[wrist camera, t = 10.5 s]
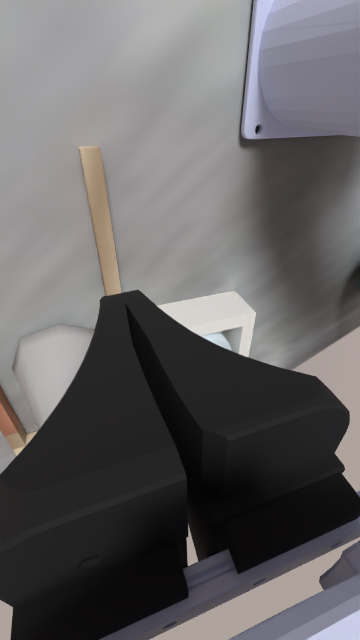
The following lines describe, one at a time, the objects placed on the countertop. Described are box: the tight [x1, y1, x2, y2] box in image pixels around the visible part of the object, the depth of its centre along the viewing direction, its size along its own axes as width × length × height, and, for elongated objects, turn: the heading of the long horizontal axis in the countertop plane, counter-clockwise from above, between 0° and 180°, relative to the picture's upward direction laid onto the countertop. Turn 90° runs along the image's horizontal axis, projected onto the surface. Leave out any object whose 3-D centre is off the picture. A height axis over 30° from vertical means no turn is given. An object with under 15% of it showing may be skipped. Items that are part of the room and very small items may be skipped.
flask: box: [12, 324, 95, 429], centre depth 20 cm, size 7×7×10 cm
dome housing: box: [157, 290, 256, 357], centre depth 25 cm, size 8×8×4 cm
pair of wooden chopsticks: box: [0, 146, 121, 455], centre depth 21 cm, size 11×23×1 cm, turn 1°
